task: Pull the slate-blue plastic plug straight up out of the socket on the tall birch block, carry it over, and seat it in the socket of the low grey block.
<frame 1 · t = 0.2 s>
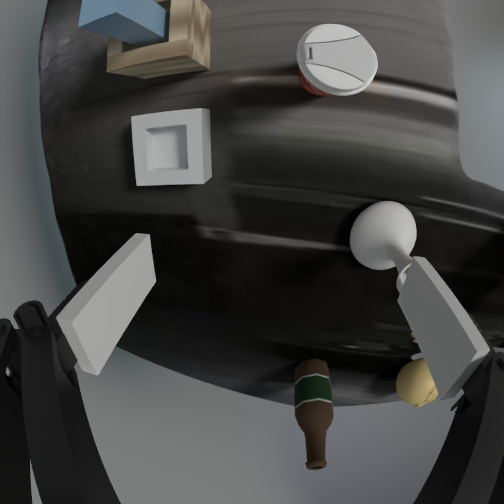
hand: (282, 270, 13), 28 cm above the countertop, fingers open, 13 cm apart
beer bottle: (311, 367, 56), on the countertop
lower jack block: (177, 144, 37), on the countertop
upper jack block: (176, 43, 30), on the countertop
sculpture: (414, 366, 55), on the countertop
paper cup: (319, 77, 31), on the countertop
plug: (154, 30, 23), point 8 cm above the countertop, touching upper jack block
flower in vase: (383, 234, 41), on the countertop
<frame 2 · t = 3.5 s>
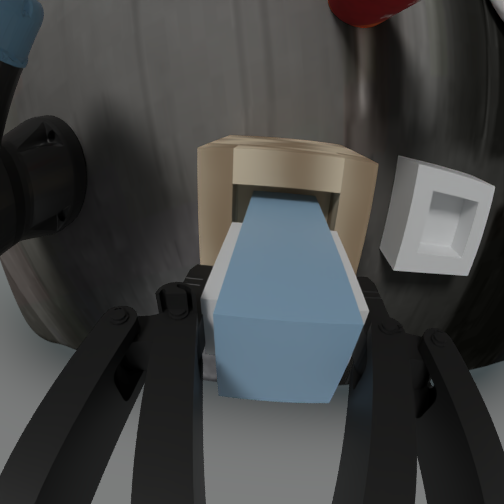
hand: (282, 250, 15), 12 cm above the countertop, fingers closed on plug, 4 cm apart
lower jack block: (429, 210, 24), on the countertop
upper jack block: (281, 190, 25), on the countertop
paper cup: (355, 5, 16), on the countertop
plug: (282, 221, 18), point 8 cm above the countertop, touching gripper, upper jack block
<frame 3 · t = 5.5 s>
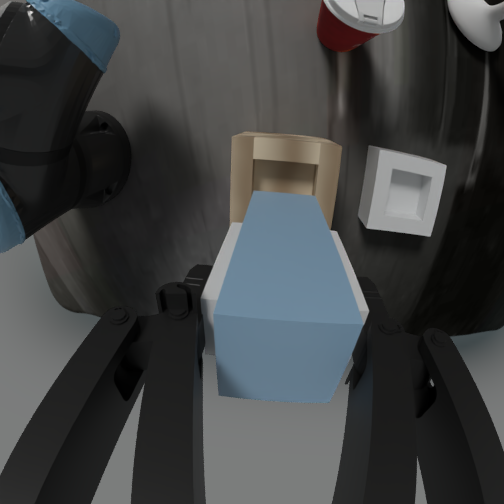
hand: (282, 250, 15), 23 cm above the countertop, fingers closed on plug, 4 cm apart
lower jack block: (396, 186, 34), on the countertop
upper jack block: (282, 171, 35), on the countertop
paper cup: (337, 33, 25), on the countertop
plug: (282, 221, 18), point 18 cm above the countertop, touching gripper
flower in vase: (471, 19, 18), on the countertop
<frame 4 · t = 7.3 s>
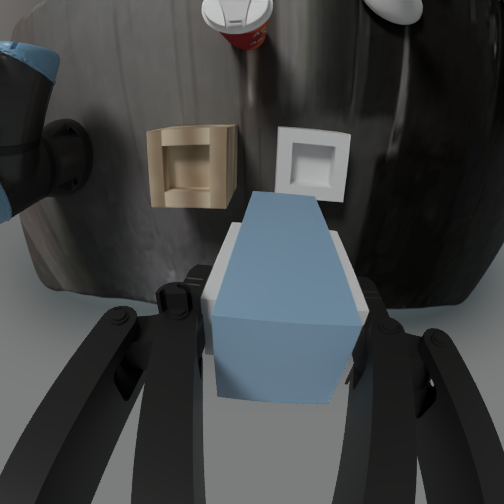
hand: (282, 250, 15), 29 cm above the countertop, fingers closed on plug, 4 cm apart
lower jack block: (308, 160, 40), on the countertop
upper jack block: (205, 155, 41), on the countertop
paper cup: (247, 34, 31), on the countertop
plug: (281, 222, 18), point 25 cm above the countertop, touching gripper
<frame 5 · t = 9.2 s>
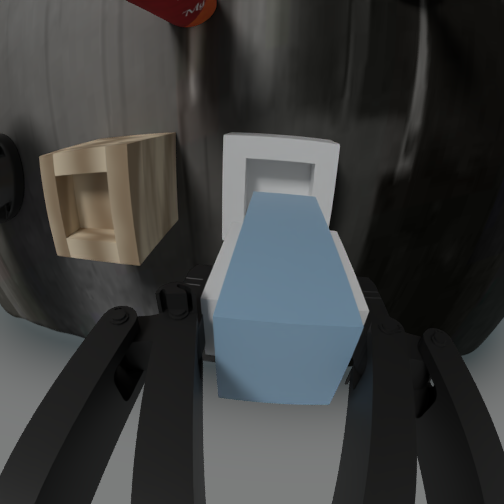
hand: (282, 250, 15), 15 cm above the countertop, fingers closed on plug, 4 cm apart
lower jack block: (278, 181, 28), on the countertop
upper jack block: (136, 177, 29), on the countertop
paper cup: (191, 7, 19), on the countertop
plug: (282, 222, 18), point 11 cm above the countertop, touching gripper
when the fingers open (7 cm above the countertop, at t = 10.9 s): plug drops 1 cm, resting on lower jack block.
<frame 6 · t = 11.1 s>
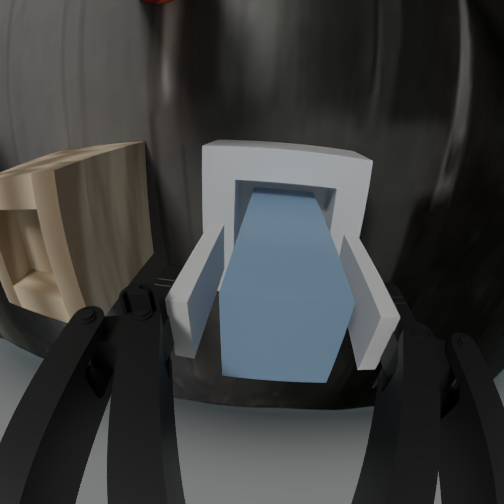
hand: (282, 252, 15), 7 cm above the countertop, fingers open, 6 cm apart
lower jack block: (281, 207, 21), on the countertop
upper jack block: (101, 199, 22), on the countertop
plug: (281, 216, 19), point 2 cm above the countertop, touching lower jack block
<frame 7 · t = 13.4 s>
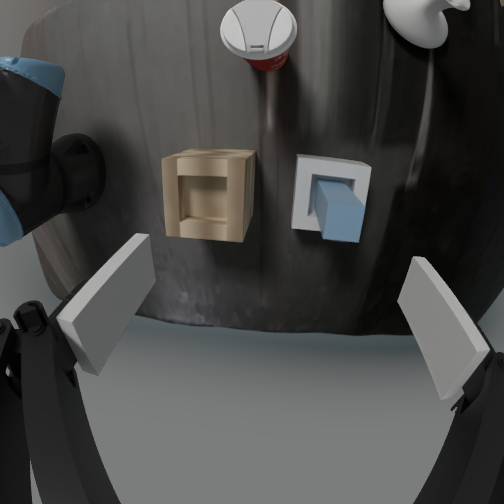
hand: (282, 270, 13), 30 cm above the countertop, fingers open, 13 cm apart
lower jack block: (327, 189, 40), on the countertop
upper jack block: (221, 181, 41), on the countertop
paper cup: (267, 54, 32), on the countertop
plug: (328, 193, 38), point 2 cm above the countertop, touching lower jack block
flower in vase: (414, 17, 24), on the countertop
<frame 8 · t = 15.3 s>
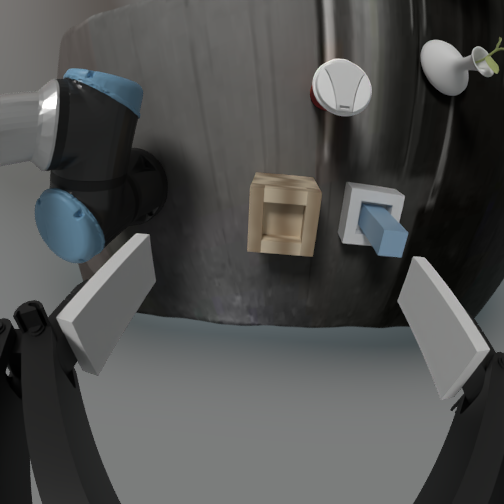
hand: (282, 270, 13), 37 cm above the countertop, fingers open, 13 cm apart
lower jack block: (367, 210, 48), on the countertop
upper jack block: (282, 201, 49), on the countertop
paper cup: (326, 94, 39), on the countertop
plug: (370, 214, 46), point 2 cm above the countertop, touching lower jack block
flower in vase: (442, 66, 32), on the countertop
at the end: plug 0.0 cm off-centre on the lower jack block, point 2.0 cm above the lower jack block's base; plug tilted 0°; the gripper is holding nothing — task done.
